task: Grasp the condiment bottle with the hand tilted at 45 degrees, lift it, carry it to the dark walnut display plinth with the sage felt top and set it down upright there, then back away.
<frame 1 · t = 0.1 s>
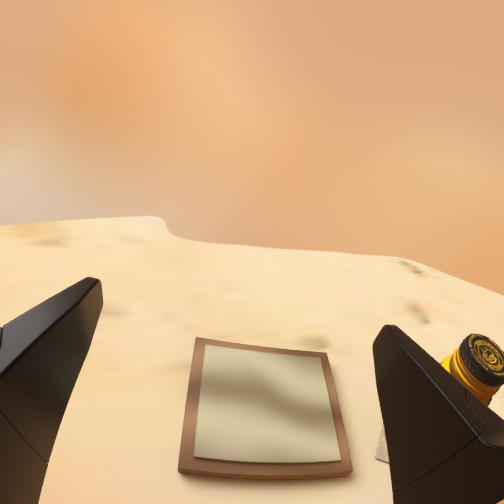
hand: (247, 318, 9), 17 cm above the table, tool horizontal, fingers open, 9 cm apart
condiment: (415, 441, 22), on the table
plinth: (263, 410, 23), on the table
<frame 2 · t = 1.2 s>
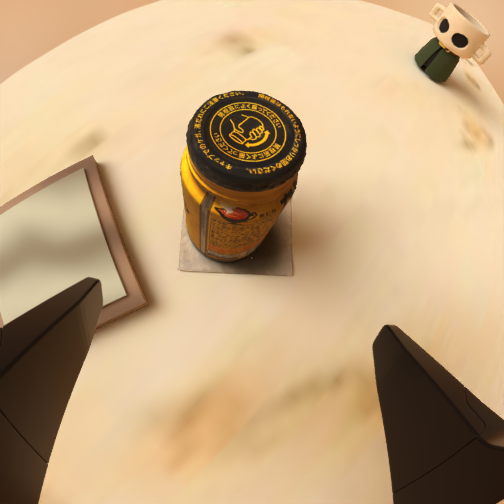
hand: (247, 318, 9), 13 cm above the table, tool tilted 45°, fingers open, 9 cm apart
condiment: (237, 227, 24), on the table
plinth: (49, 260, 20), on the table
character mug: (428, 70, 35), on the table
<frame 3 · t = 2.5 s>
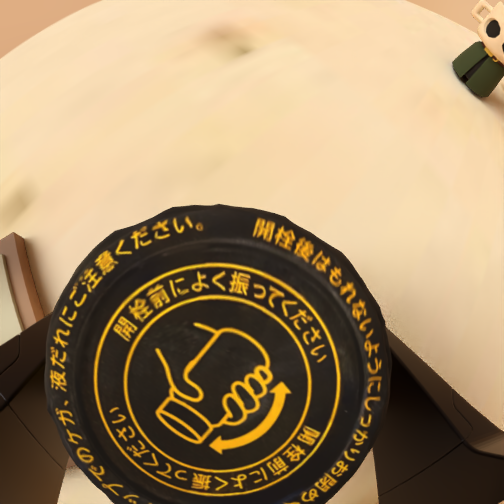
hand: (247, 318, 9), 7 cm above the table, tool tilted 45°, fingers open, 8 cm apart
condiment: (224, 349, 15), on the table, touching gripper
character mug: (467, 81, 27), on the table
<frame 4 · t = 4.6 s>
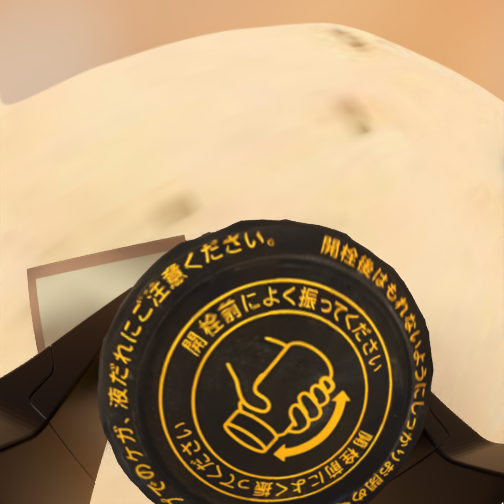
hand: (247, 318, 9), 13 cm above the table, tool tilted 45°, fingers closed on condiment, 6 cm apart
condiment: (242, 353, 15), point 6 cm above the table, touching gripper
plinth: (117, 342, 20), on the table
when the fingers open (9 cm above the table, at t = 6.2 s): condiment drops 1 cm, resting on plinth.
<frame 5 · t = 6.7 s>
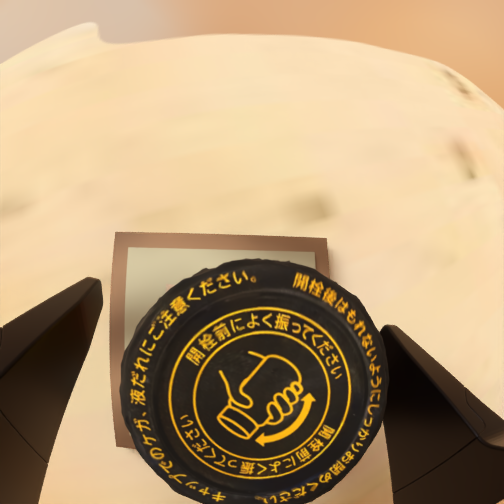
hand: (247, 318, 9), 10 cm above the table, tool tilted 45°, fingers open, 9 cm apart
condiment: (237, 355, 16), point 1 cm above the table, touching plinth
plinth: (221, 345, 18), on the table
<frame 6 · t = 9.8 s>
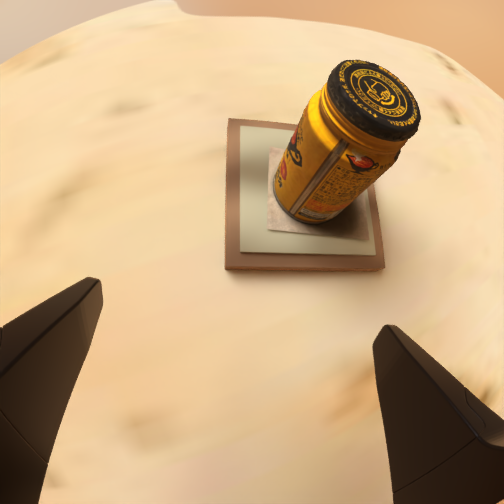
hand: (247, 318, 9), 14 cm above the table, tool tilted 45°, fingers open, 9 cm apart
condiment: (318, 193, 24), point 1 cm above the table, touching plinth
plinth: (303, 194, 25), on the table
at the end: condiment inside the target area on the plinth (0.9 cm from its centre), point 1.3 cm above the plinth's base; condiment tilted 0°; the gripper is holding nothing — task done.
